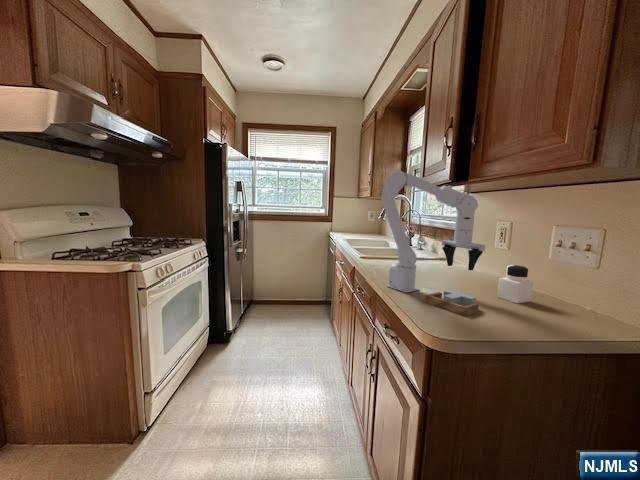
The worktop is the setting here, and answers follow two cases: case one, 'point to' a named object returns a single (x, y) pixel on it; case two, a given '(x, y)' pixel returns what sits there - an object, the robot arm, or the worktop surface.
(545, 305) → the worktop surface
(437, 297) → the walnut cradle
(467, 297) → the t block
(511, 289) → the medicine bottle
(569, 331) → the worktop surface
